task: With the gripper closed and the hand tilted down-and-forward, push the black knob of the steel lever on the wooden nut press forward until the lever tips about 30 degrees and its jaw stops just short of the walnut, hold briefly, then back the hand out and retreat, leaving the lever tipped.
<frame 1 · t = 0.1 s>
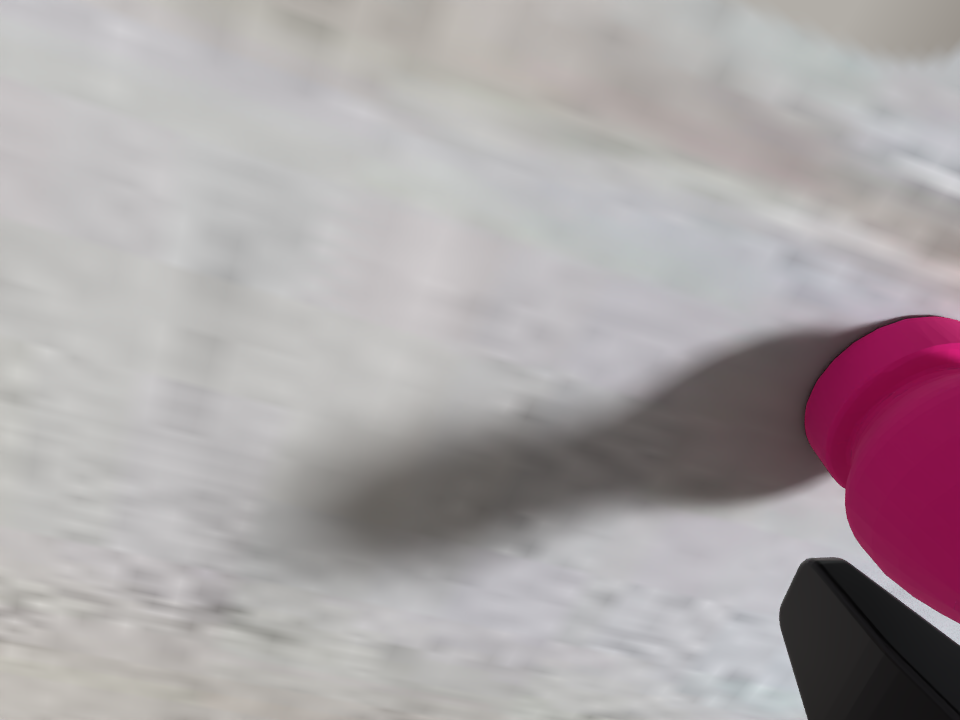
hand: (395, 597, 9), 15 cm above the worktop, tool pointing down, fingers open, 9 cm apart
pepper mill: (889, 390, 29), on the worktop
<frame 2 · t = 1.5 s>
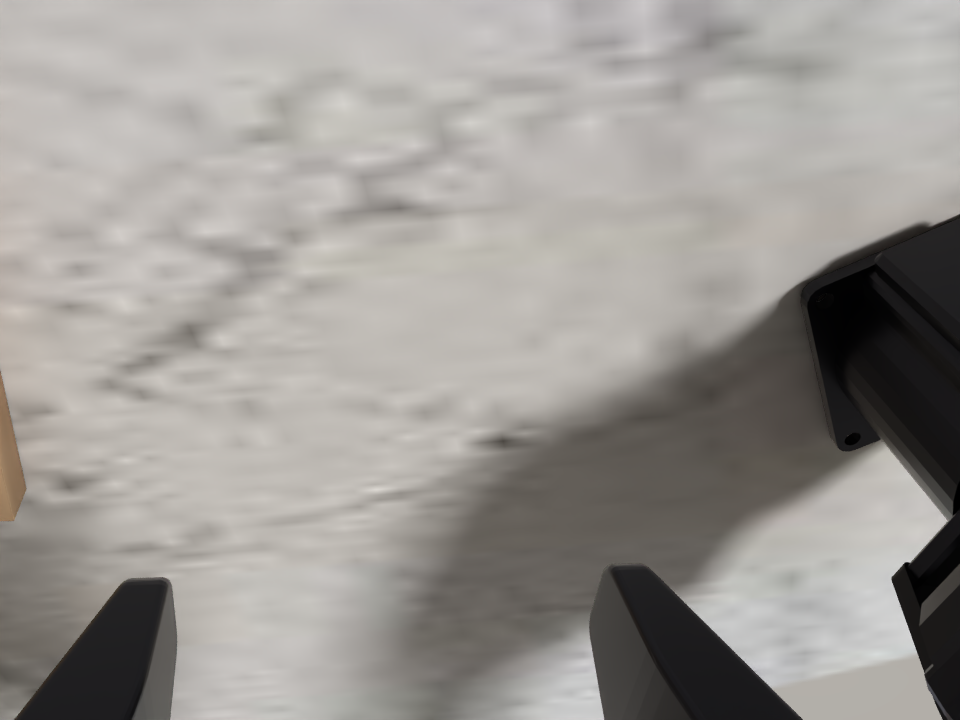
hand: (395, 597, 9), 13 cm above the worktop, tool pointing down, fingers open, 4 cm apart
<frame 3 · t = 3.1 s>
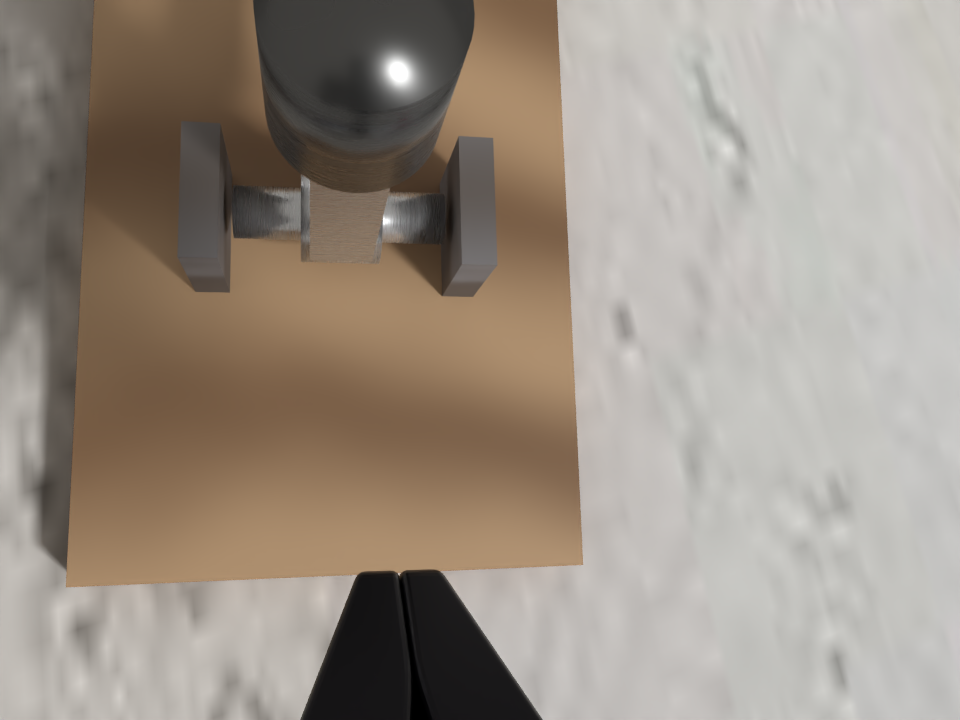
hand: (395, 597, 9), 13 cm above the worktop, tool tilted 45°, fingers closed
press base: (336, 250, 23), on the worktop
lever: (348, 75, 16), point 7 cm above the worktop, hinge at 0.0°
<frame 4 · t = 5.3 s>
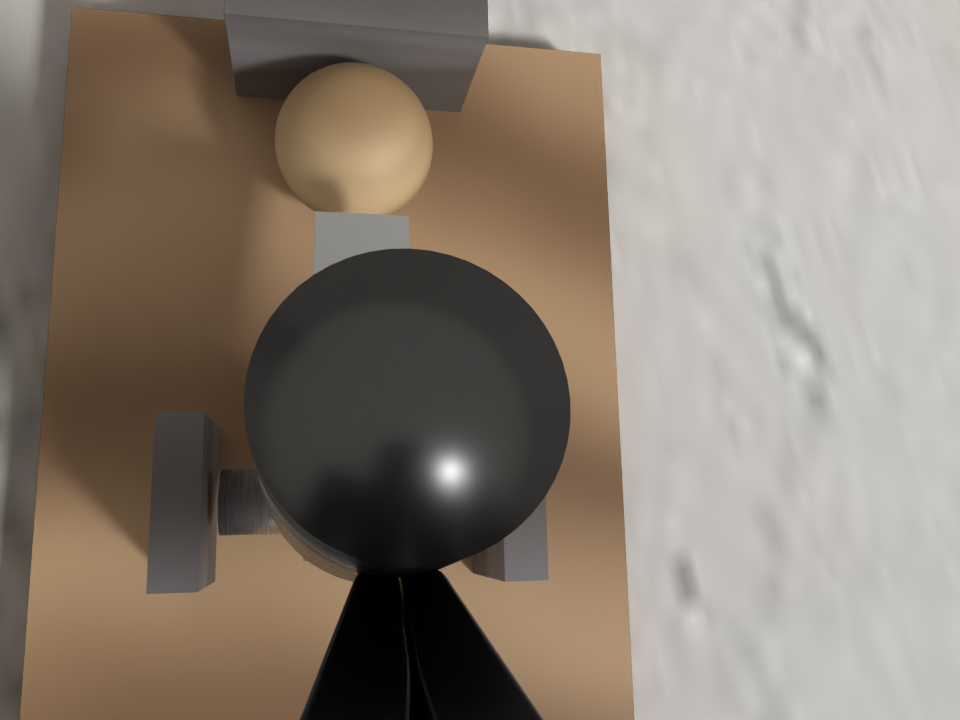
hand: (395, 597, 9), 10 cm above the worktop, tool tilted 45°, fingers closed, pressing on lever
press base: (345, 504, 19), on the worktop
lever: (368, 371, 13), point 7 cm above the worktop, hinge at 6.1°, touching gripper
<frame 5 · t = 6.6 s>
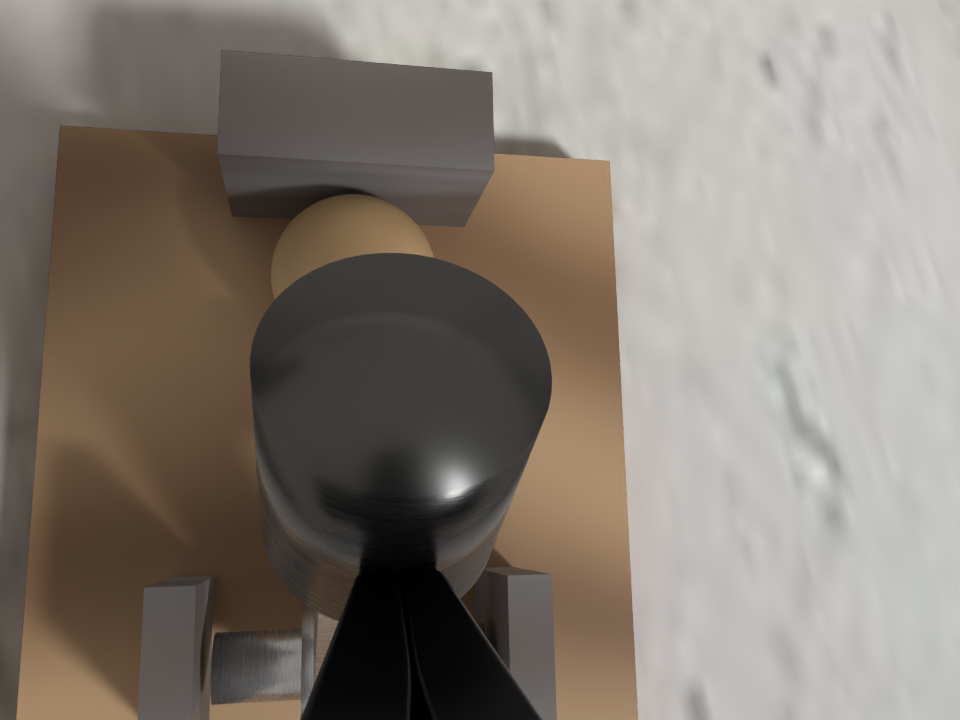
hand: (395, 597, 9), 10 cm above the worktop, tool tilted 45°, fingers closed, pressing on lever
press base: (345, 641, 18), on the worktop
lever: (364, 480, 13), point 6 cm above the worktop, hinge at 27.0°, touching gripper
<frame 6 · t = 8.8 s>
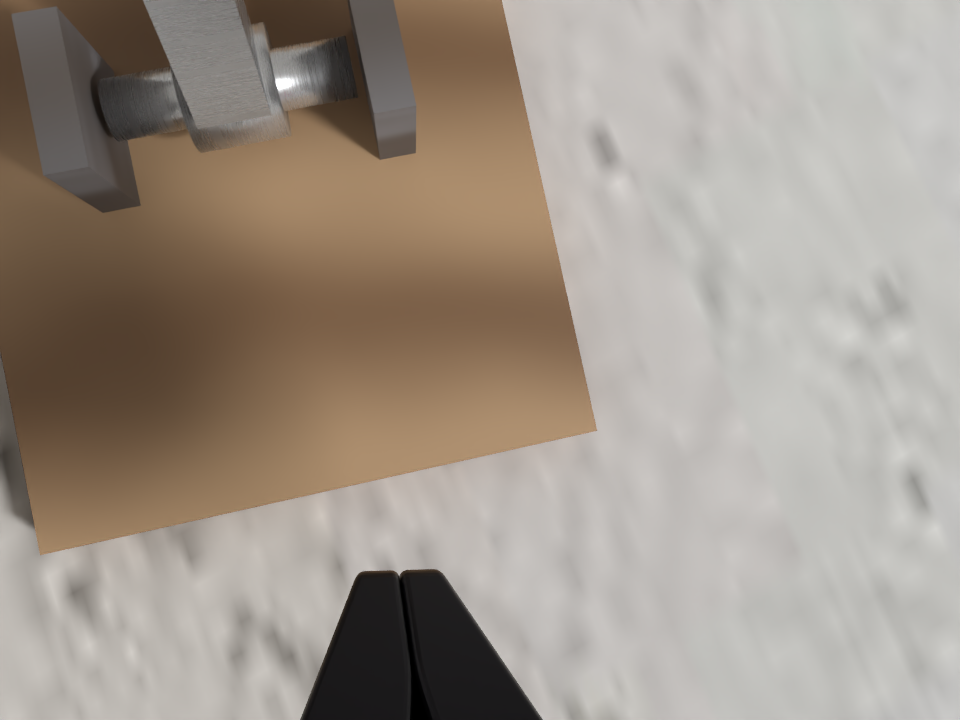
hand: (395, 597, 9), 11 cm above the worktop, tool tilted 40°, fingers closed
press base: (257, 133, 20), on the worktop
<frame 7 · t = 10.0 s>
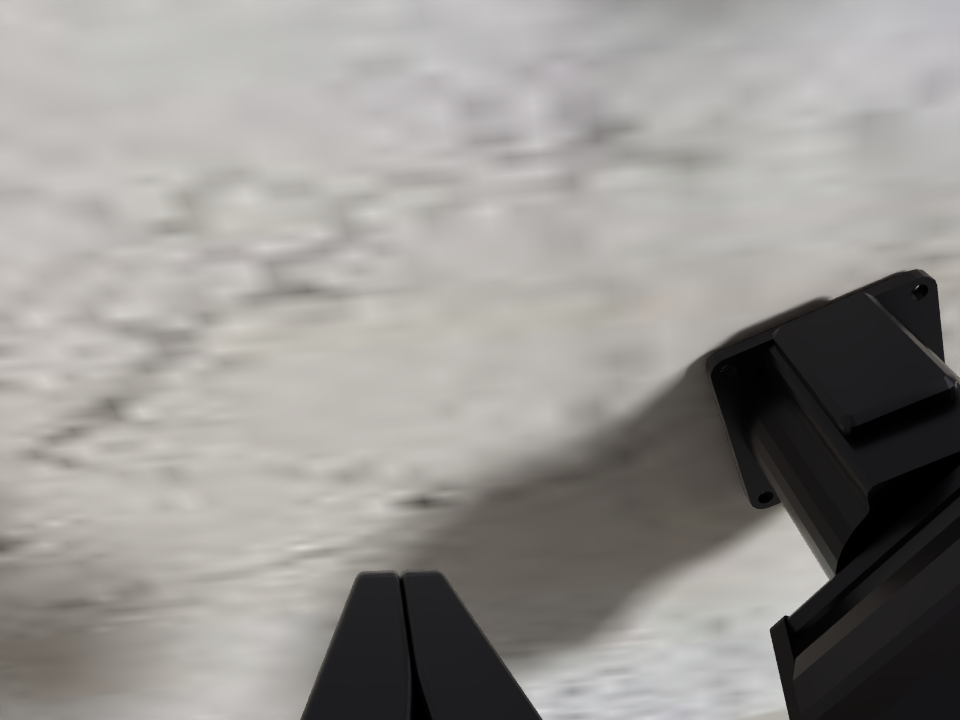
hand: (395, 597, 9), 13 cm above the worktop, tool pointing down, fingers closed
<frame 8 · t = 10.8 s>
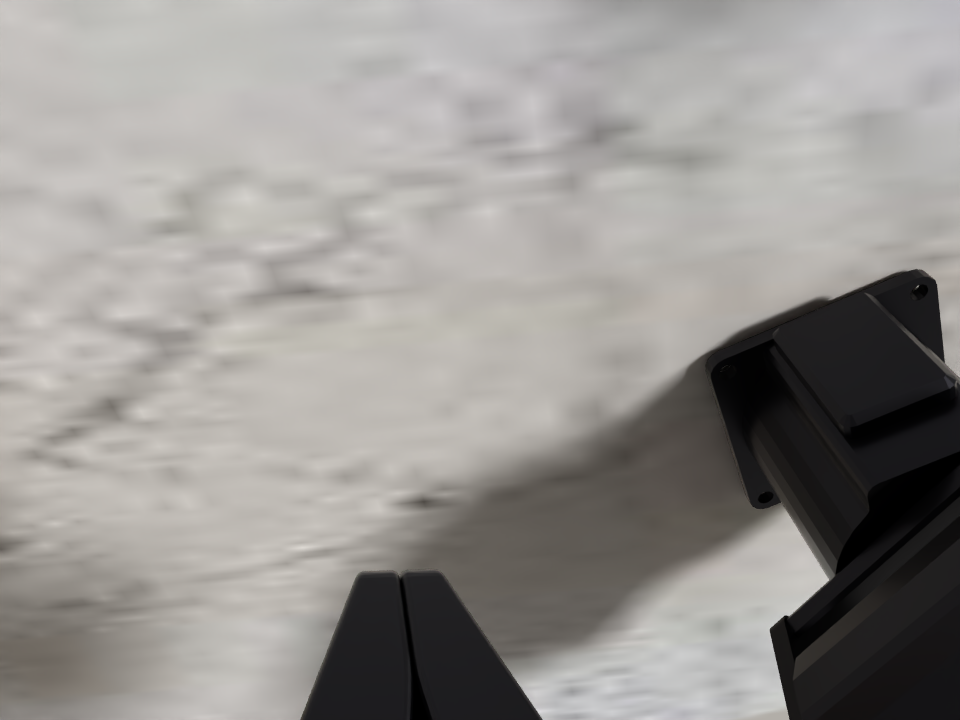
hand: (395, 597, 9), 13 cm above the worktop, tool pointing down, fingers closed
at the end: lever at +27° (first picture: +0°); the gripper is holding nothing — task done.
